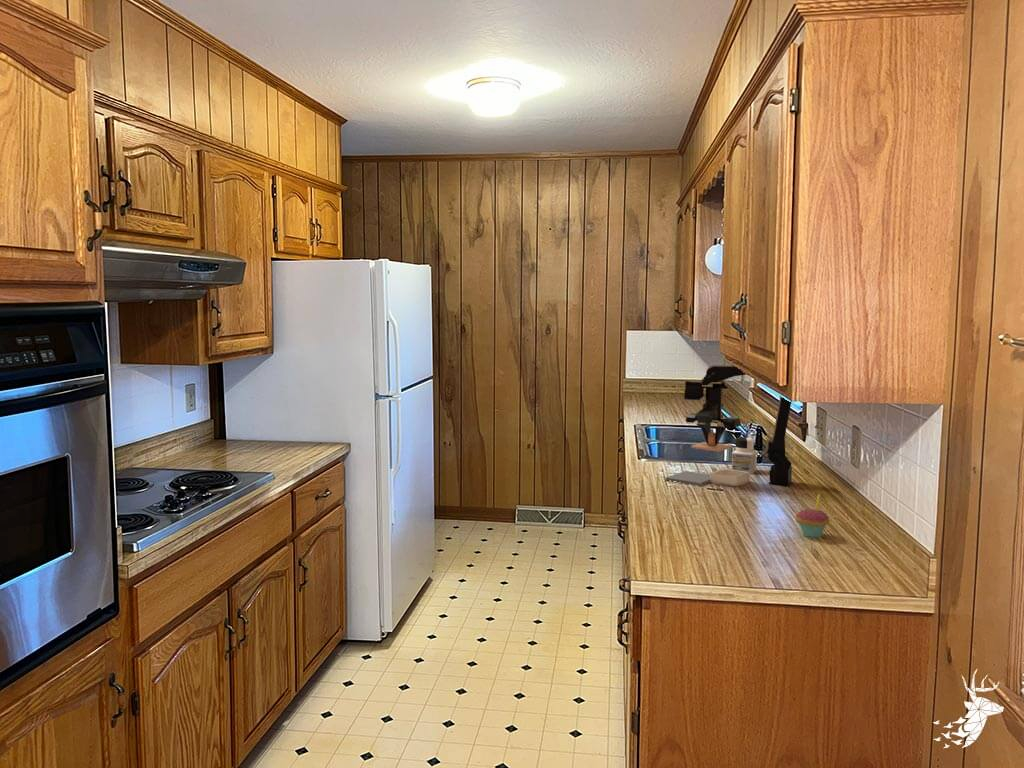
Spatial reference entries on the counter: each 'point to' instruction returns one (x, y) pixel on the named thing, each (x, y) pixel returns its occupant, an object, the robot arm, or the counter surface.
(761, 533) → the counter surface
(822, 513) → the cupcake
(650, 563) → the counter surface
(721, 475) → the dish
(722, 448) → the lid
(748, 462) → the container
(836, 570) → the counter surface
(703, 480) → the trivet
